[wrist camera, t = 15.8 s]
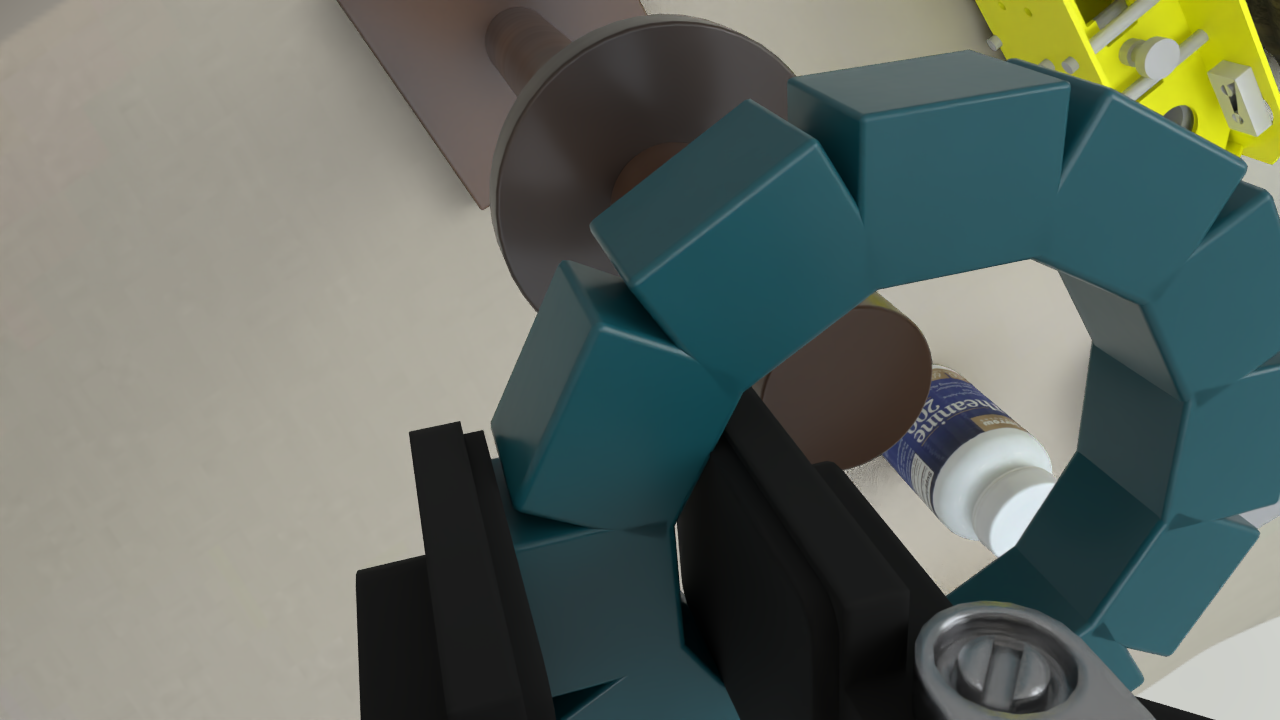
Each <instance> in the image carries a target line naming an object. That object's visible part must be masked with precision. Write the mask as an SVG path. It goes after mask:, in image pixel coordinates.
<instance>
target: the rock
mask: <svg viewBox="0 0 1280 720" xmlns="http://www.w3.org/2000/svg"><path fill="white" fill-rule="evenodd" d="M1245 1H1246V4H1247V6H1248V9H1249V12H1250V15H1251V17H1252V20H1253V23H1254V26H1255V28H1256V31H1257V34H1258V36H1259V39H1260V42H1261V43H1262V44H1263V46H1264V47H1265V48H1266V50H1267V51H1268V52H1269V53H1270V54H1272V55H1273V56H1274V57H1275V59H1276V60H1277V62H1278V64H1279V65H1280V0H1245Z"/></svg>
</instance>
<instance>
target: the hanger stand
mask: <svg viewBox="0 0 1280 720" xmlns="http://www.w3.org/2000/svg"><path fill="white" fill-rule="evenodd" d="M337 2H338V3H339V5H340V6H341V7H342V9H343V10H344V12H345V13H346V15H347V16H348V18H349V19H350V20H351V22H352V23H353V25H354V26H355V28H356V29H357V31H358V32H359V34H360V35H361V36H362V38H363V39H364V41H365V42H366V44H367V45H368V47H369V48H370V50H371V51H372V52H373V54H374V55H375V57H376V58H377V60H378V61H379V63H380V64H381V66H382V67H383V68H384V70H385V71H386V73H387V74H388V76H389V77H390V79H391V80H392V82H393V83H394V84H395V86H396V87H397V89H398V90H399V92H400V93H401V95H402V96H403V97H404V99H405V100H406V102H407V103H408V105H409V106H410V108H411V109H412V111H413V112H414V113H415V115H416V116H417V118H418V119H419V121H420V122H421V124H422V125H423V127H424V128H425V129H426V131H427V132H428V134H429V135H430V137H431V138H432V140H433V141H434V143H435V144H436V145H437V147H438V148H439V150H440V151H441V153H442V154H443V156H444V157H445V159H446V160H447V161H448V163H449V164H450V166H451V167H452V169H453V170H454V172H455V173H456V174H457V176H458V177H459V179H460V180H461V182H462V183H463V185H464V186H465V188H466V189H467V190H468V192H469V193H470V195H471V196H472V198H473V199H474V201H475V202H476V204H477V205H478V206H479V208H480V209H481V210H484V209H486V208H487V207H489V206H490V209H491V217H492V223H493V227H494V231H495V235H496V239H497V242H498V245H499V247H500V250H501V252H502V254H503V257H504V259H505V262H506V264H507V266H508V269H509V271H510V274H511V276H512V278H513V280H514V281H515V283H516V285H517V286H518V288H519V290H520V291H521V293H522V295H523V296H524V297H525V298H526V300H527V301H528V302H529V303H530V305H531V306H532V307H533V308H534V309H535V311H536V312H537V313H538V311H539V309H540V306H541V304H542V302H543V299H544V297H545V295H546V292H547V290H548V288H549V285H550V283H551V281H552V278H553V276H554V274H555V271H556V269H557V267H558V265H559V264H560V263H561V261H562V260H571V261H574V262H577V263H579V264H582V265H585V266H588V267H591V268H594V269H597V270H600V271H603V272H606V273H609V274H612V275H615V276H618V277H621V276H620V274H619V273H618V271H617V270H616V268H615V267H614V265H613V264H612V262H611V261H610V259H609V258H608V256H607V255H606V253H605V252H604V250H603V249H602V247H601V246H600V244H599V243H598V241H597V240H596V239H595V237H594V236H593V234H592V233H591V230H590V226H589V225H590V223H591V222H592V220H593V219H595V218H596V217H597V216H598V215H600V214H601V213H602V212H604V211H605V210H606V209H607V208H609V207H610V206H611V205H612V204H614V203H615V202H616V201H617V200H619V199H620V198H621V197H623V196H624V195H625V194H626V193H628V192H629V191H630V190H631V189H633V188H634V187H635V186H636V185H638V184H639V183H640V182H642V181H643V180H644V179H645V178H647V177H648V176H649V175H650V174H652V173H653V172H654V171H656V170H657V169H658V168H659V167H661V166H662V165H663V164H664V163H666V162H667V161H668V160H669V159H671V158H672V157H673V156H675V155H676V154H677V153H678V152H680V151H681V150H682V149H683V148H685V147H686V146H687V145H688V144H690V143H691V142H692V141H694V140H695V139H696V138H697V137H699V136H700V135H701V134H702V133H704V132H705V131H706V130H707V129H709V128H710V127H711V126H713V125H714V124H715V123H716V122H718V121H719V120H720V119H721V118H723V117H724V116H725V115H727V114H728V113H729V112H730V111H732V110H733V109H734V108H735V107H737V106H738V105H739V104H740V103H742V102H743V101H745V100H748V99H751V100H753V101H755V102H756V103H758V104H760V105H761V106H763V107H765V108H766V109H768V110H769V111H771V112H773V113H774V114H776V115H778V116H779V117H781V118H783V119H784V120H786V121H787V122H788V104H787V82H788V79H790V78H792V77H796V75H795V74H794V73H793V71H792V70H791V69H790V68H789V67H788V66H787V65H786V64H785V63H784V62H783V61H782V60H781V59H780V58H779V57H777V56H776V55H775V54H773V53H772V52H771V51H769V50H768V49H767V48H765V47H764V46H763V45H761V44H760V43H758V42H756V41H754V40H752V39H750V38H748V37H747V36H745V35H743V34H741V33H739V32H737V31H734V30H732V29H730V28H728V27H726V26H723V25H720V24H717V23H714V22H712V21H709V20H706V19H701V18H696V17H691V16H686V15H673V14H655V15H647V13H646V11H645V10H644V8H643V6H642V4H641V2H640V0H337ZM621 278H622V277H621ZM931 382H932V359H931V353H930V349H929V346H928V344H927V341H926V339H925V337H924V335H923V334H922V332H921V331H920V329H919V328H918V327H917V326H916V324H915V323H913V322H912V321H911V320H910V319H909V318H908V317H907V316H905V315H904V314H903V313H902V312H901V311H899V310H898V309H897V308H896V307H894V306H893V305H892V304H891V303H890V302H888V301H887V300H886V299H885V298H884V297H882V296H881V295H880V294H879V293H877V292H874V293H873V294H872V295H870V296H869V297H868V298H866V299H865V300H864V301H862V302H861V303H860V304H858V305H857V306H856V307H855V308H853V309H852V310H851V311H849V312H848V313H847V314H845V315H844V316H843V317H841V318H840V319H839V320H838V321H836V322H835V323H834V324H832V325H831V326H830V327H828V328H827V329H826V330H824V331H823V332H822V333H820V334H819V335H818V336H817V337H815V338H814V339H813V340H811V341H810V342H809V343H807V344H806V345H805V346H803V347H802V348H801V349H800V350H798V351H797V352H796V353H794V354H793V355H792V356H790V357H789V358H788V359H786V360H785V361H784V362H783V363H781V364H780V365H779V366H777V367H776V368H775V369H773V370H772V371H771V372H769V373H768V374H767V375H765V376H764V377H763V378H762V379H760V380H759V381H758V382H756V383H755V384H754V385H752V386H751V387H752V388H753V389H754V390H755V392H756V393H757V394H758V396H759V397H760V398H761V399H762V401H763V402H764V403H765V405H766V406H767V407H768V408H769V410H770V411H771V412H772V414H773V415H774V416H775V417H776V419H777V420H778V421H779V423H780V424H781V425H782V427H783V428H784V429H785V430H786V432H787V433H788V434H789V436H790V437H791V438H792V439H793V441H794V442H795V443H796V445H797V446H798V447H799V448H800V450H801V451H802V452H803V454H804V455H805V456H806V457H807V459H808V460H809V461H810V463H811V464H815V463H819V462H824V461H831V462H834V463H835V464H836V465H838V466H839V467H840V468H841V469H842V470H846V469H851V468H854V467H857V466H860V465H862V464H865V463H867V462H869V461H871V460H873V459H875V458H877V457H878V456H880V455H882V454H883V453H884V452H886V451H887V450H889V449H890V448H891V447H893V446H894V445H895V444H896V443H897V442H898V441H899V440H900V439H901V438H902V437H903V436H904V435H905V434H906V433H907V432H908V431H909V429H910V428H911V427H912V426H913V424H914V423H915V421H916V420H917V418H918V417H919V415H920V413H921V411H922V409H923V407H924V405H925V403H926V400H927V397H928V395H929V391H930V387H931Z"/></svg>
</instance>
